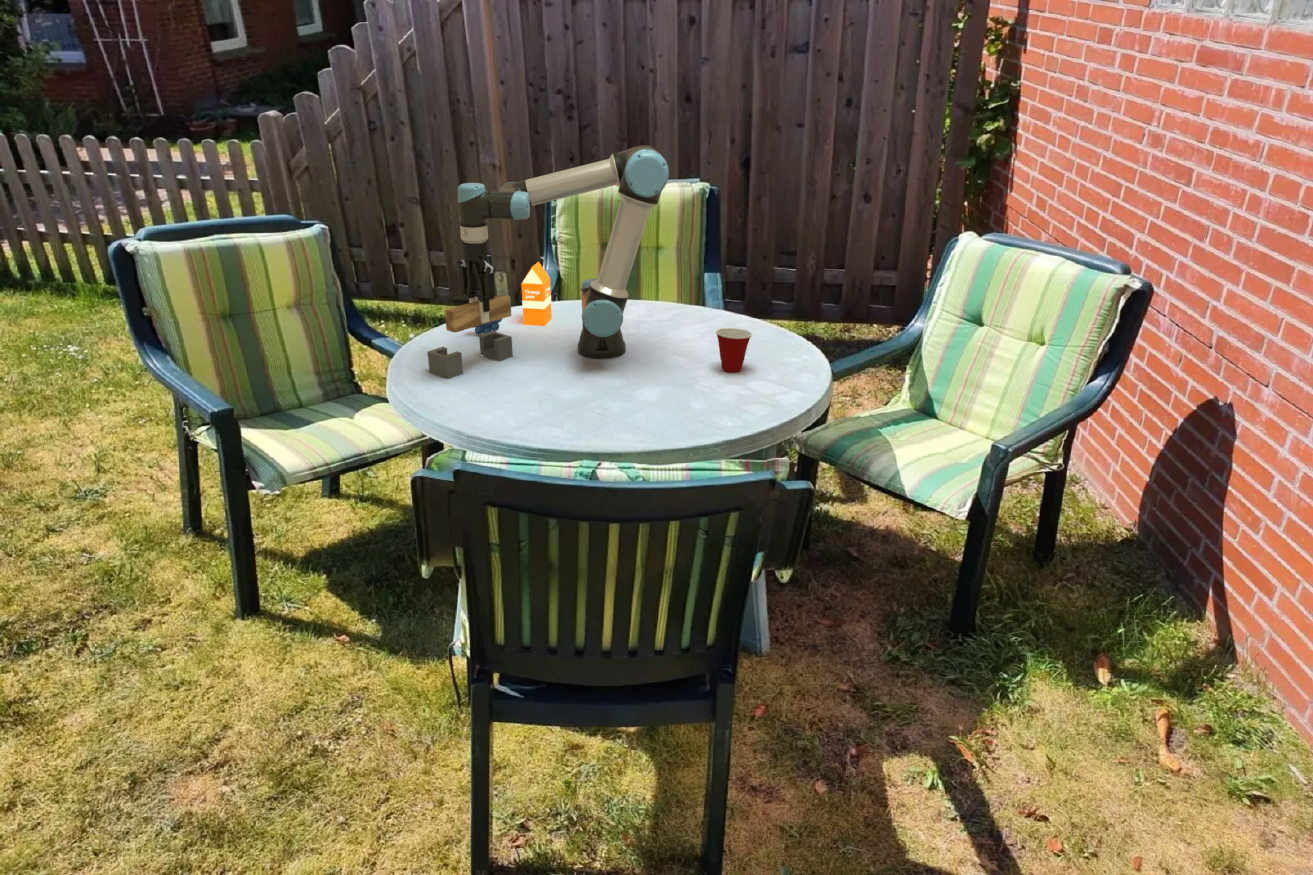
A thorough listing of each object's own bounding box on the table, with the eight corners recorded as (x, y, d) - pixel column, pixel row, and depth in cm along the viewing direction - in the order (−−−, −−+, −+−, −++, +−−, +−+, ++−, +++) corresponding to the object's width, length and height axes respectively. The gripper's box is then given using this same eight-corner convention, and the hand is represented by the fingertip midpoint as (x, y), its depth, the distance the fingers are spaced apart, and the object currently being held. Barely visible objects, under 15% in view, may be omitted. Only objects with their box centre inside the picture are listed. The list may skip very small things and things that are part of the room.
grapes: (508, 333, 299) (505, 298, 294) (500, 339, 293) (498, 303, 288) (475, 330, 301) (472, 295, 296) (467, 336, 295) (464, 301, 290)
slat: (511, 315, 269) (510, 296, 266) (454, 332, 253) (453, 312, 250) (503, 313, 271) (502, 294, 268) (446, 330, 255) (444, 309, 252)
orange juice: (523, 324, 308) (520, 267, 299) (530, 317, 315) (527, 261, 307) (545, 326, 306) (542, 268, 298) (552, 318, 314) (549, 262, 306)
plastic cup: (757, 369, 269) (760, 331, 264) (735, 378, 262) (737, 339, 257) (729, 360, 276) (731, 323, 271) (706, 369, 268) (708, 331, 263)
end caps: (512, 356, 278) (511, 336, 275) (448, 378, 260) (446, 357, 257) (494, 350, 283) (492, 331, 280) (429, 372, 265) (427, 351, 262)
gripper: (444, 238, 254) (451, 318, 263) (485, 247, 245) (490, 329, 254) (464, 234, 259) (470, 312, 269) (505, 242, 250) (509, 323, 260)
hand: (480, 320), depth 262 cm, fingers closed on slat, 3 cm apart
